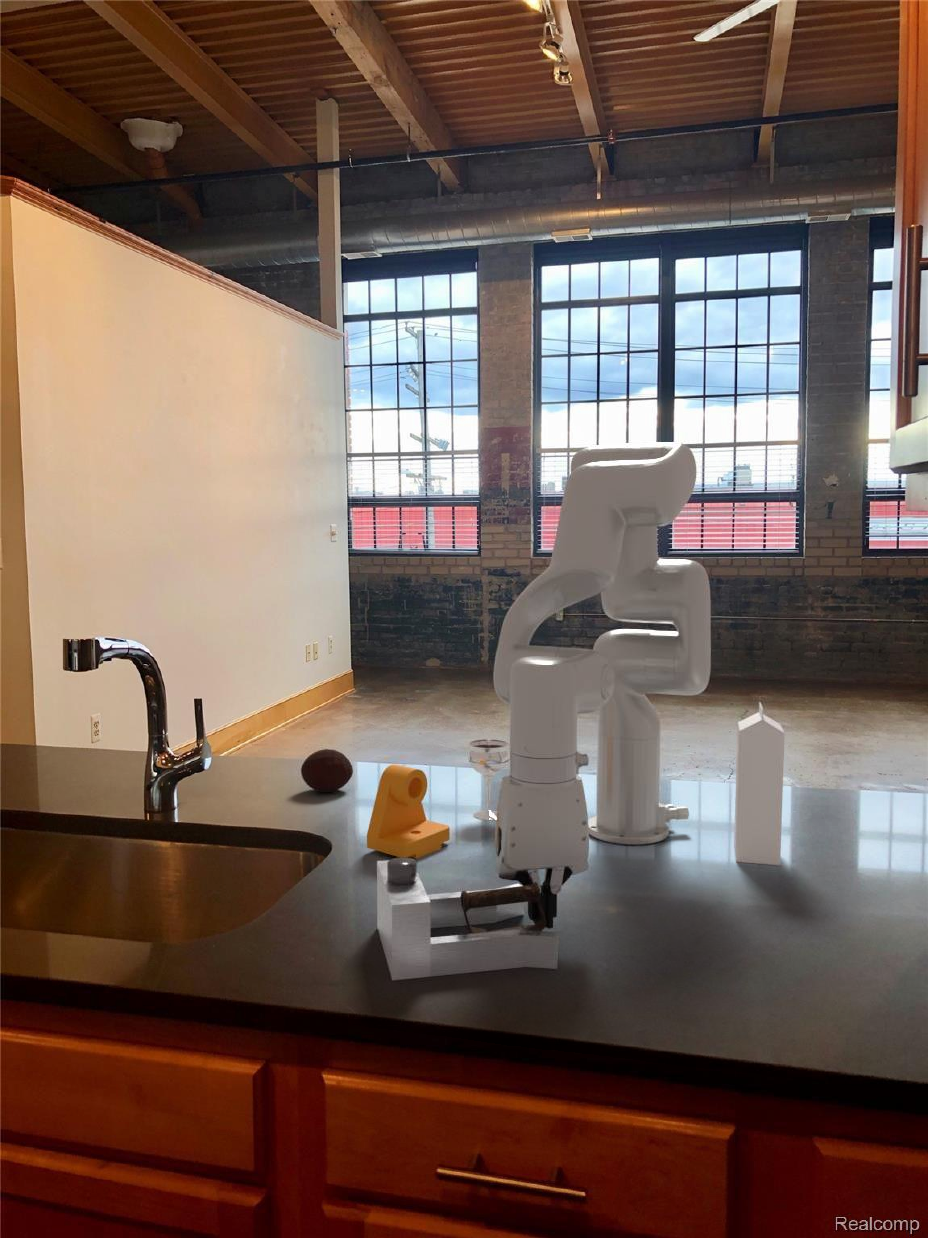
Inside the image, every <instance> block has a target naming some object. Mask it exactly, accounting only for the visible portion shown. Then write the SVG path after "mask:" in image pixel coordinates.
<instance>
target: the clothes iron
mask: <svg viewBox="0 0 928 1238" xmlns="http://www.w3.org/2000/svg"><path fill="white" fill-rule="evenodd" d="M501 888H502V887H501ZM494 889H495V890H490V889H485V890H486V891H478V890H476V891H477V892H469V893H467V892H466V890H461V891H460V892H461V905H462V909H463V912H464V916H465V919H466V924H467V925H466V927H467V928H468V931H469V934H475V933H486V932H497V931H508V930H519V929H520V930H529V931H543V930H545V929H546V928H545V926H546V919H545V916H544V913H543V910H542V906H541V904H540V901H539V900H540V890H539V887H538V883H537V882H534V883H532V884H531V885H526V886H523V885H522V886H519V887H511V888H502V889H498V888H494ZM530 901H533V902H535V903H538V906H539V910H540V912H541V919H540V920H539V921H538V922H537V923H536V924H535V923H534V924H528V925H520V926H519V925H518V926H512V927H505V928H501V929H494V930H490V931H488V930H487V929H485V928H481V927H475V926H472V925H470V924H469V921H468V918H467V914H466V912H467V911H468V910H469V909H472V908H480V907H488V906H496V905H505V904H513V903H521V902H524V903H528V902H530Z"/></svg>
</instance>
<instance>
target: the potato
mask: <svg viewBox="0 0 928 1238" xmlns="http://www.w3.org/2000/svg"><path fill="white" fill-rule="evenodd" d="M353 769H354V768H353V765H352V763H351V761H350V759H349V758H348V757H347V756H346V755H345V754H344V753H342V752H341V751H339V750H335V749H327V748H326V749H325V748H324V749H321V750H317V751H314V752H312V754H310V755H308V757H306V759H305V760H304V762H303V763H302V765H301V769H300V771H301V773H300V774H301V777H302V780H303V781H304V782H305V784H306V785H307V786H308V787H309V788H310V789H313V790H314V791H317V792H319V793H332V792H335V791H337V790H339V789H341V788H343V787H344V786H346V785H347V784H348V783H349V781H350V780H351V778H352V777H353V774H354V770H353Z"/></svg>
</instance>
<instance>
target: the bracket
mask: <svg viewBox="0 0 928 1238" xmlns="http://www.w3.org/2000/svg"><path fill="white" fill-rule="evenodd" d="M427 791H428V778H427V775H426V773H425V772H424V771H423V770H422V769H419V768H414V767H409V766H404V765H399V764H390V765H389V766H387V767H386V768H385V769H384V770H383V772H382V773H381V776H380V779H379V783H378V787H377V793H376V796H375V800H374V805H373V808H372V813H371V816H370V820H369V824H368V829H367V831H366V832H367V833H366V849H370V850H374V851H378V852H379V853H380V852H381V853H384V854H387V855H391V856H395V857H396V858H411V859H414V860H416V859H420V858H422V857H423V856H426V855H429V854H431V853H434V852H436V851H438V850H441V849H442V844H443V843H445V842H448V841H450V830H451V829H450V825H447V824H443V823H440V822H436V821H432V820H429V819H427V817H426V813H425V810H424V806H423V802H422V801H423V800H424V798H425V796H426V795H427Z"/></svg>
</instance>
